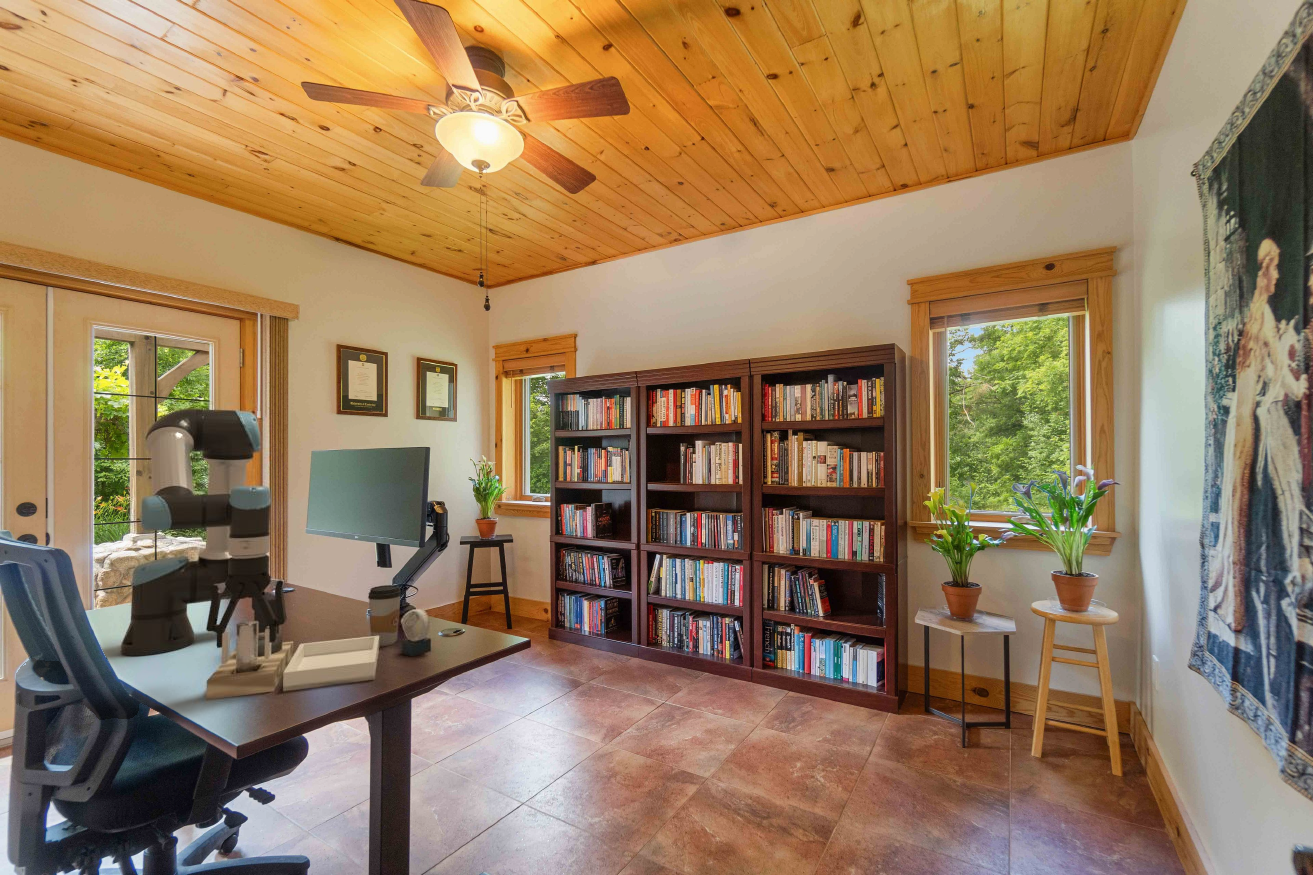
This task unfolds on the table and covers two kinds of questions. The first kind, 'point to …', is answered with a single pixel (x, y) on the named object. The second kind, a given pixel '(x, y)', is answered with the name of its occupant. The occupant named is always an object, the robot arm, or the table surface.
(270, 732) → the table surface
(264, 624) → the black upright block
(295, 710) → the table surface
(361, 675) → the tray
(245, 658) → the lock pin
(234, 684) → the tensioner plate
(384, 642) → the coffee cup
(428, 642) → the watch
